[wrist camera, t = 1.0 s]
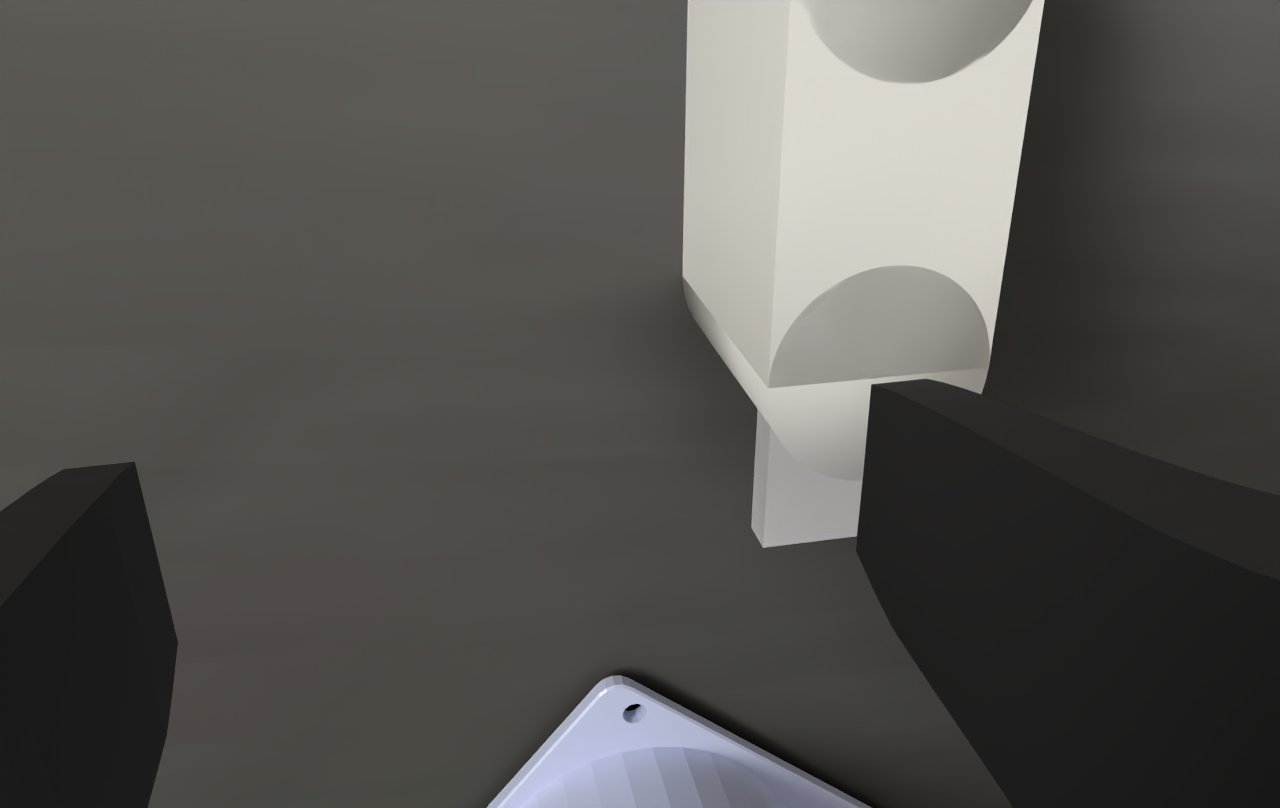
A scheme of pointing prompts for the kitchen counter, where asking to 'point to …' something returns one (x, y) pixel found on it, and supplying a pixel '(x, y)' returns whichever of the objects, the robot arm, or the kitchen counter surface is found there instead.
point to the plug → (847, 217)
